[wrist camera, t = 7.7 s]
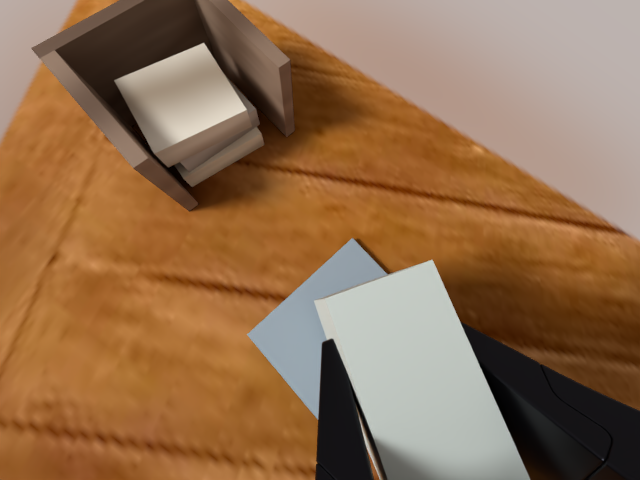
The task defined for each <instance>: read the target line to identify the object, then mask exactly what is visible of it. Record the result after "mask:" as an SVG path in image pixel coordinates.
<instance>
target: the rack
mask: <svg viewBox="0 0 640 480" xmlns="http://www.w3.org/2000/svg"><path fill="white" fill-rule="evenodd" d="M202 43H204V44H205V45H206V47H207V48H208V50H209V51H210V53H211V55H212V56H213V58H214V59H215V61H216V62H217V64H218V66H219V67H220V69H221V70H222V72H223V73H224V74H225V75H226V76H227V77H228V78H229V79H230V80H231V81H232V82H233V83H234V84H235V85H236V86H237V87H238V88H239V89H240V90H241V91H242V92H243V93H244V94H245V95H246V96H247V97H248V98H249V99H250V100H251V101H252V102H253V103H254V104H255V105H256V106H257V107H258V108H259V109H260V110H261V111H262V112H263V114H264V115H265V116H266V117H267V118H268V119H269V120H270V121H271V122H272V123H273V124H274V125H275V126H276V127H277V128H278V129H279V130H280V131H281V132H282V133H283V134H284V135H285V136H286V137H287V136H289V135H290V134H291V133H293V132H294V131H295V127H294V111H293V95H292V79H291V63H290V59H289V58H288V57H287V56H286V55H285V54H284V53H283V52H282V51H280V50H279V49H278V48H277V47H276V46H275V45H274V44H273V43H272V42H271V41H270V40H269V39H268V38H267V37H266V36H265V35H264V34H263V33H262V32H261V31H260V30H259V29H257V28H256V27H255V26H254V25H253V24H252V23H251V22H250V21H249V20H248V19H247V18H246V17H245V16H244V15H243V14H242V13H241V12H240V11H239V10H238V9H237V8H235V7H234V6H233V5H232V4H231V3H230V2H229V1H228V0H119V1H118V2H116V3H114V4H112V5H110V6H108V7H107V8H105V9H103V10H101V11H99V12H97V13H95V14H94V15H92V16H90V17H88V18H86V19H84V20H83V21H81V22H79V23H77V24H75V25H73V26H71V27H70V28H68V29H66V30H64V31H62V32H60V33H59V34H57V35H55V36H53V37H51V38H49V39H47V40H46V41H44V42H42V43H40V44H38V45H37V46H35V47H33V48H32V50H33V51H34V52H35V53H36V54H37V56H38V57H39V58H40V59H41V60H42V62H43V63H44V64H45V65H46V66H47V67H48V69H49V70H50V71H51V72H52V73H53V75H54V76H55V77H56V78H57V79H58V80H59V82H60V83H61V84H62V85H63V86H64V87H65V89H66V90H67V91H68V92H69V93H70V94H71V96H72V97H73V98H74V99H75V100H76V102H77V103H78V104H79V105H80V106H81V107H82V109H83V110H84V111H85V112H86V113H87V114H88V116H89V117H90V118H91V119H92V120H93V121H94V123H95V124H96V125H97V126H98V127H99V129H100V130H101V131H102V132H103V133H104V134H105V136H106V137H107V138H108V139H109V140H110V141H111V143H112V144H113V145H114V146H115V147H116V148H117V150H118V151H119V152H120V153H121V154H122V156H123V157H124V158H125V159H126V160H127V161H128V163H129V164H130V165H131V166H132V167H133V168H134V169H135V170H136V171H138V172H139V173H140V174H141V175H143V176H144V177H145V178H147V179H148V180H149V181H151V182H152V183H153V184H154V185H156V186H157V187H158V188H160V189H161V190H162V191H163V192H165V193H166V194H167V195H169V196H170V197H171V198H173V199H174V200H175V201H176V202H178V203H179V204H180V205H182V206H183V207H184V208H186V209H187V210H188V211H190V210H192V209H193V208H194V207H196V206H197V205H198V202H197V201H196V200H195V199H194V198H193V197H192V196H191V194H190V193H189V192H188V191H187V190H186V189H185V188H184V187H183V185H182V184H181V183H180V182H179V181H178V180H177V179H176V177H175V176H174V175H173V174H172V173H171V172H170V171H169V169H168V168H167V167H166V166H165V165H164V164H163V163H162V161H161V160H160V159H159V158H158V157H157V156H156V155H155V154H154V153H153V151H152V150H151V149H150V148H149V147H148V145H147V144H146V143H145V142H144V141H143V140H142V139H141V137H140V136H139V135H138V134H137V133H136V132H135V131H134V129H133V128H132V127H131V126H133V125H134V124H136V123H137V122H136V120H135V118H134V116H133V114H132V112H131V110H130V109H129V107H128V105H127V103H126V101H125V99H124V98H123V96H122V94H121V92H120V90H119V88H118V87H117V85H116V83H115V81H114V80H116V79H118V78H121V77H123V76H126V75H128V74H130V73H133V72H135V71H138V70H140V69H142V68H145V67H147V66H150V65H152V64H154V63H157V62H159V61H162V60H164V59H166V58H169V57H171V56H174V55H176V54H178V53H181V52H183V51H186V50H188V49H190V48H193V47H195V46H198V45H200V44H202Z"/></svg>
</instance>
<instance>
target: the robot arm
mask: <svg viewBox="0 0 640 480" xmlns="http://www.w3.org/2000/svg"><path fill="white" fill-rule="evenodd" d="M460 323H461V325H462V327H463V329H464V332H465V334H466V336H467V338H468V341H469V343H470V345H471V347H472V350H473V352H474V354H475V356H476V359H477V361H478V363H479V365H480V368H481V370H482V372H483V374H484V377H485V379H486V381H487V383H488V386H489V388H490V390H491V392H492V395H493V397H494V399H495V401H496V404H497V406H498V408H499V410H500V412H501V415H502V417H503V419H504V421H505V424H506V426H507V428H508V430H509V433H510V435H511V437H512V439H513V442H514V444H515V446H516V448H517V451H518V453H519V455H520V457H521V460H522V462H523V464H524V466H525V469H526V471H527V473H528V475H529V478H530V480H640V411H639V410H636V409H634V408H632V407H630V406H628V405H625V404H623V403H621V402H619V401H616V400H614V399H612V398H610V397H607V396H605V395H603V394H601V393H599V392H597V391H594V390H592V389H590V388H588V387H586V386H584V385H582V384H580V383H578V382H576V381H574V380H572V379H570V378H568V377H566V376H564V375H562V374H560V373H558V372H556V371H554V370H552V369H550V368H548V367H546V366H544V365H542V364H541V365H540V364H539V363H538V362H537V361H535V360H533V359H531V358H529V357H527V356H525V355H523V354H521V353H519V352H518V351H516V350H514V349H512V348H510V347H508V346H506V345H504V344H502V343H500V342H499V341H497V340H495V339H493V338H491V337H489V336H487V335H485V334H483V333H481V332H480V331H478V330H476V329H474V328H472V327H470V326H468V325H466V324H464V323H462V322H461V321H460ZM316 461H317V463H318V464H316V476H315V480H374V477H373V473H372V469H371V465H370V461H369V457H368V453H367V448H366V444H365V440H364V436H363V432H362V428H361V424H360V420H359V416H358V412H357V408H356V404H355V400H354V396H353V393H352V389H351V385H350V381H349V377H348V374H347V371H346V368H345V366H344V364H343V361H342V359H341V356H340V354H339V351H338V349H337V347H336V344H335V342H334V339H332V338H331V339H328V340H326V341H323V342H322V348H321V370H320V392H319V414H318V436H317V458H316Z"/></svg>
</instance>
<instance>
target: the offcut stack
mask: <svg viewBox="0 0 640 480" xmlns="http://www.w3.org/2000/svg"><path fill="white" fill-rule="evenodd" d="M114 81H115V83H116V85H117V87H118V88H119V90H120V92H121V94H122V96H123V98H124V99H125V101H126V103H127V105H128V107H129V109H130V110H131V112H132V114H133V116H134V118H135V120H136V122H137V123H138V125H139V127H140V129H141V131H142V133H143V134H144V136H145V138H146V140H147V142H148V144H149V145H150V147H151V149H152V151H153V153H154V154H155V155H156V156H157V157H158V158H159V159H160V160H161V161H162V162H163V163H164V164H165V165H166V166H167V167H170V166H172V165H175V167H176V168H177V170H178V171H179V173H180V174H181V176H182V177H183V179H184V180H185V181H186V182H187V183H188V184H189V185H190V186H191V187H193V186H195V185H197V184H198V183H200V182H202V181H204V180H205V179H207V178H209V177H210V176H212V175H214V174H215V173H217V172H219V171H221V170H222V169H224V168H226V167H227V166H229V165H231V164H232V163H234V162H236V161H238V160H239V159H241V158H243V157H244V156H246V155H248V154H249V153H251V152H253V151H255V150H256V149H258V148H260V147H261V146H263V145H264V141H263V137H262V134H261V132H260V131H259V129H258V128H257V126H258V125H259V124H260V122H259V118H258V114H257V111H256V108H255V107H254V106H253V105H252V104H251V103H250V102H249V101H248V100H247V98H246V97H245V96H244V95H243V94H242V93H241V92H240V91H239V90H238V89H237V88H236V86H235V85H234V84H233V83H232V82H231V81H230V80H229V79H228V78H227V77H226V76H225V74H224V73H223V72H222V70H221V69H220V67H219V66H218V64H217V62H216V61H215V59H214V58H213V56H212V55H211V53H210V51H209V50H208V48H207V47H206V45H205V44H204V43H202V44H200V45H198V46H195V47H193V48H190V49H188V50H186V51H183V52H181V53H178V54H176V55H174V56H171V57H169V58H166V59H164V60H162V61H159V62H157V63H154V64H152V65H150V66H147V67H145V68H142V69H140V70H138V71H135V72H133V73H130V74H128V75H126V76H123V77H121V78H118V79H116V80H114Z"/></svg>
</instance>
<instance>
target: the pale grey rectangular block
mask: <svg viewBox="0 0 640 480" xmlns="http://www.w3.org/2000/svg"><path fill="white" fill-rule="evenodd" d="M314 303H315V306H316V309H317V312H318V315H319V318H320V321H321V324H322V327H323V330H324V333H325V336H326V339H327V340H328V339H331V338H332V339H334V342H335V344H336V347H337V349H338V351H339V354H340V356H341V359H342V361H343V364H344V366H345V368H346V371H347V374H348V377H349V381H350V385H351V389H352V393H353V396H354V400H355V404H356V408H357V412H358V416H359V420H360V424H361V428H362V432H363V436H364V440H365V444H366V447H367V449H368V452H369V454H370V456H371V459H372V461H373V464H374V466H375V468H376V471H377V473H378V476H379V478H380V480H530V478H529V475H528V473H527V471H526V469H525V466H524V464H523V462H522V460H521V457H520V455H519V453H518V451H517V448H516V446H515V444H514V442H513V439H512V437H511V435H510V433H509V430H508V428H507V426H506V424H505V421H504V419H503V417H502V415H501V412H500V410H499V408H498V406H497V404H496V401H495V399H494V397H493V395H492V392H491V390H490V388H489V386H488V383H487V381H486V379H485V377H484V374H483V372H482V370H481V368H480V365H479V363H478V361H477V359H476V356H475V354H474V352H473V350H472V347H471V345H470V343H469V341H468V338H467V336H466V334H465V332H464V329H463V327H462V325H461V323H460V320H459V318H458V316H457V314H456V311H455V309H454V307H453V305H452V302H451V300H450V298H449V296H448V293H447V291H446V289H445V287H444V284H443V282H442V280H441V278H440V275H439V273H438V271H437V269H436V267H435V264H434V262H433V260H430V261H427V262H424V263H421V264H418V265H415V266H412V267H409V268H406V269H403V270H400V271H397V272H394V273H391V274H388V275H385V276H382V277H379V278H376V279H373V280H370V281H367V282H364V283H361V284H358V285H355V286H353V287H350V288H347V289H344V290H342V291H339V292H336V293H333V294H330V295H328V296H325V297H322V298H319V299H317V300H314Z"/></svg>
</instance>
